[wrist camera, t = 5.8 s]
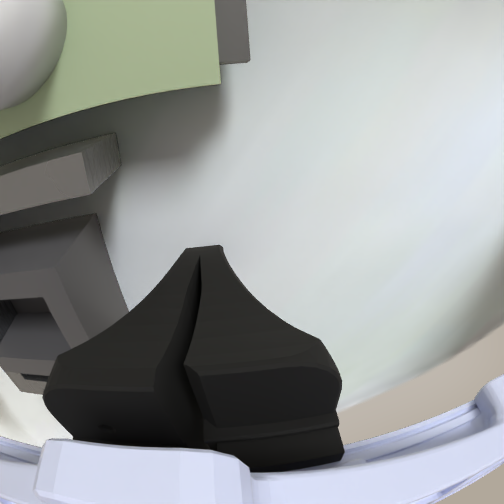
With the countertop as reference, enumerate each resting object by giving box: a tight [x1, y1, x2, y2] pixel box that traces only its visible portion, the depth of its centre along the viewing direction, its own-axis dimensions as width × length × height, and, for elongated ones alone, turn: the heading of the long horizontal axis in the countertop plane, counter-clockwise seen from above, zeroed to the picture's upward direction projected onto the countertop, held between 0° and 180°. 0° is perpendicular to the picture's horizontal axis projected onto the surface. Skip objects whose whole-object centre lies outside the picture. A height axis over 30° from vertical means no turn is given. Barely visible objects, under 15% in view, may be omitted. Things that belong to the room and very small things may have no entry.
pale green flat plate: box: [0, 0, 250, 139], centre depth 5 cm, size 12×6×4 cm, turn 94°
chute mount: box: [0, 133, 121, 395], centre depth 11 cm, size 9×11×3 cm
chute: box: [0, 213, 129, 376], centre depth 10 cm, size 6×5×4 cm
